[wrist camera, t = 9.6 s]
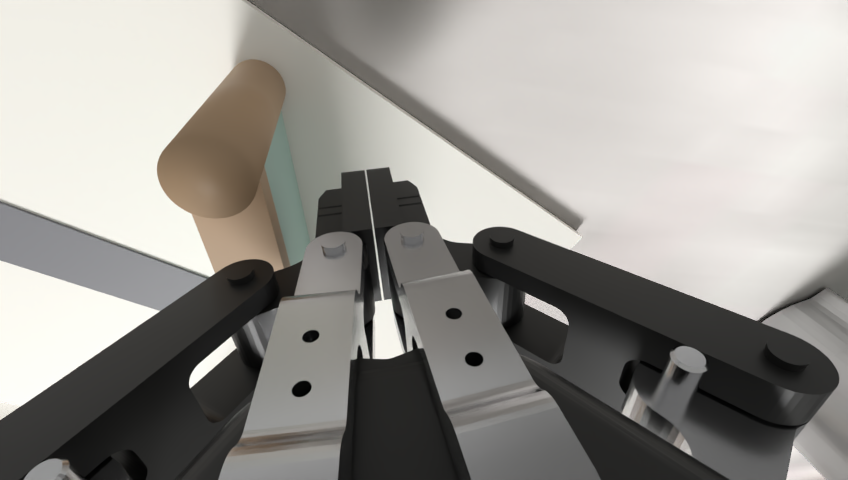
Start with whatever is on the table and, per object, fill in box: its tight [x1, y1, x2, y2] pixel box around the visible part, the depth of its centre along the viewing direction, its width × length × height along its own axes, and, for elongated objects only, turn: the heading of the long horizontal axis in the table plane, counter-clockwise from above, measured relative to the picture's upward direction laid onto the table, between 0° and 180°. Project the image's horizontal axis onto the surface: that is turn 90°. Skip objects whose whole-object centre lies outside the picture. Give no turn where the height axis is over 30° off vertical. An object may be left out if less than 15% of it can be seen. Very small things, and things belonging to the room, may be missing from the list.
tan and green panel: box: [157, 59, 310, 273], centre depth 14 cm, size 13×2×7 cm, turn 1°
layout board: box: [0, 0, 583, 406], centre depth 20 cm, size 24×24×1 cm
